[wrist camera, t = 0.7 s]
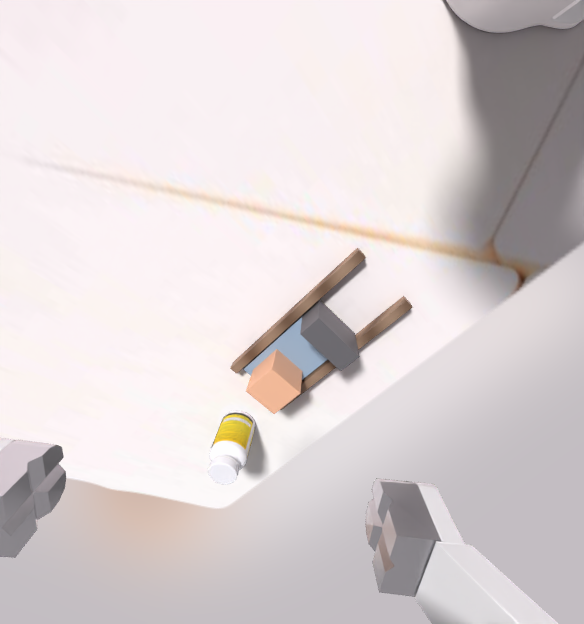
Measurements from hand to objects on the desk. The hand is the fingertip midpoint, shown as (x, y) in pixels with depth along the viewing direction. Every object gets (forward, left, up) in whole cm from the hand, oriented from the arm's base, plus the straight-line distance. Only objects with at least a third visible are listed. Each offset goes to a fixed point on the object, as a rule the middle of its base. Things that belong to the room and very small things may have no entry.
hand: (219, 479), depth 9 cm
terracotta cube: (+16, +11, -34) cm, 39 cm away
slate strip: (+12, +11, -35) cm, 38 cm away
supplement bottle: (+28, +14, -35) cm, 47 cm away
